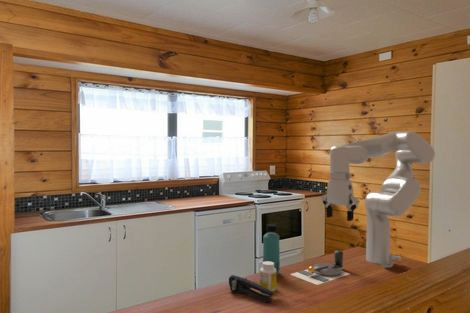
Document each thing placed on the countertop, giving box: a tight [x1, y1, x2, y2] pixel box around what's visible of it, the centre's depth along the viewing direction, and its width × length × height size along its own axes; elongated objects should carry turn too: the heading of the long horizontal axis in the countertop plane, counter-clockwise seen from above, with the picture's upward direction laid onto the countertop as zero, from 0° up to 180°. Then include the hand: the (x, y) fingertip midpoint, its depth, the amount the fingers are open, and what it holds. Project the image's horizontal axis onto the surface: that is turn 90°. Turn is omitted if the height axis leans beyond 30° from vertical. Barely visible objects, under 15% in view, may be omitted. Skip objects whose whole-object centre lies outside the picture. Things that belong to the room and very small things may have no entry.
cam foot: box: [307, 249, 344, 276], centre depth 135 cm, size 19×11×7 cm, turn 126°
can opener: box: [228, 274, 275, 303], centre depth 115 cm, size 18×7×6 cm, turn 49°
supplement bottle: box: [259, 261, 277, 297], centre depth 118 cm, size 6×6×10 cm
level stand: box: [289, 268, 351, 286], centre depth 133 cm, size 20×13×2 cm, turn 127°
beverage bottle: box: [262, 223, 281, 276], centre depth 133 cm, size 6×7×20 cm
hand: (339, 218), depth 141 cm, fingers open, 9 cm apart
